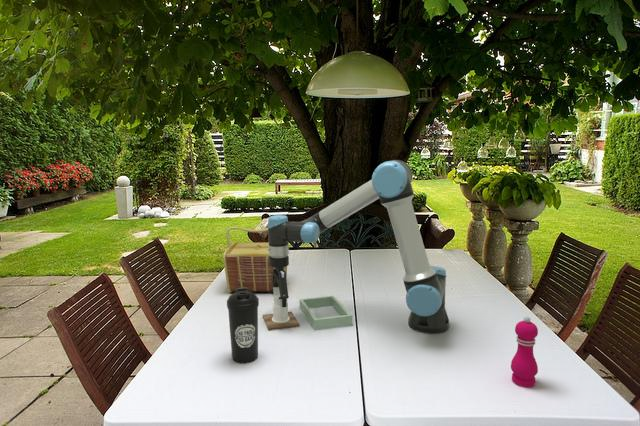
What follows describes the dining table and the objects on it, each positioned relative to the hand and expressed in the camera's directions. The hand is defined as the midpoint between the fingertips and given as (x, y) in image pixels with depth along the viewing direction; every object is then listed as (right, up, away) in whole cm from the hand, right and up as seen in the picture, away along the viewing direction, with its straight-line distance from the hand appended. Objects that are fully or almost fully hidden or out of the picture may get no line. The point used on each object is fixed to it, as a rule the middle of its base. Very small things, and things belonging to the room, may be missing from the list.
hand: (280, 308), depth 182 cm
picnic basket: (-14, +1, +43) cm, 45 cm away
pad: (0, -5, +1) cm, 5 cm away
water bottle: (-9, -10, -28) cm, 32 cm away
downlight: (0, -5, +1) cm, 5 cm away
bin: (+17, -4, +6) cm, 19 cm away
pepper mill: (+75, -12, -46) cm, 89 cm away
